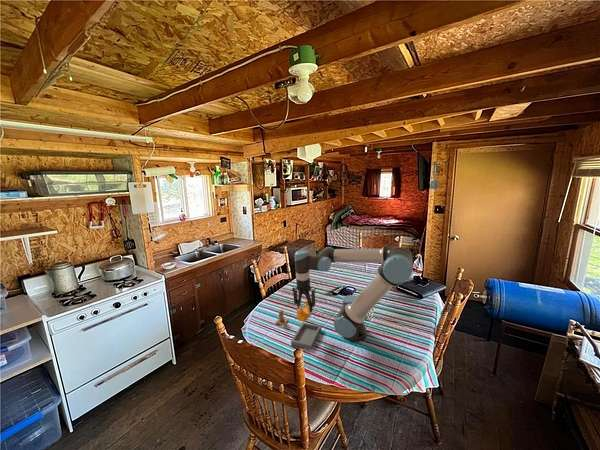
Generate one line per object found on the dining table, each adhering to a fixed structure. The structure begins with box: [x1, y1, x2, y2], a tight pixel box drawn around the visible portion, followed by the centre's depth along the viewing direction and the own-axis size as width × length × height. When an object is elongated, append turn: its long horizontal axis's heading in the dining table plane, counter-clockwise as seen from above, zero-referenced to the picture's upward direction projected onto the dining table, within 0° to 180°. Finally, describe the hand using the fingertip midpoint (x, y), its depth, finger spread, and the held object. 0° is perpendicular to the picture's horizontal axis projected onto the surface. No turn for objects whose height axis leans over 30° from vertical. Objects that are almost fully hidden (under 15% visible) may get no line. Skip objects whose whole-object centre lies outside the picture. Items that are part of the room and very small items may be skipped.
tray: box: [290, 322, 322, 351], centre depth 144 cm, size 12×18×3 cm, turn 157°
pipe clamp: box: [296, 299, 310, 323], centre depth 141 cm, size 12×4×6 cm, turn 149°
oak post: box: [275, 309, 289, 327], centre depth 159 cm, size 6×6×8 cm
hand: (305, 315), depth 141 cm, fingers closed on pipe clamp, 5 cm apart
